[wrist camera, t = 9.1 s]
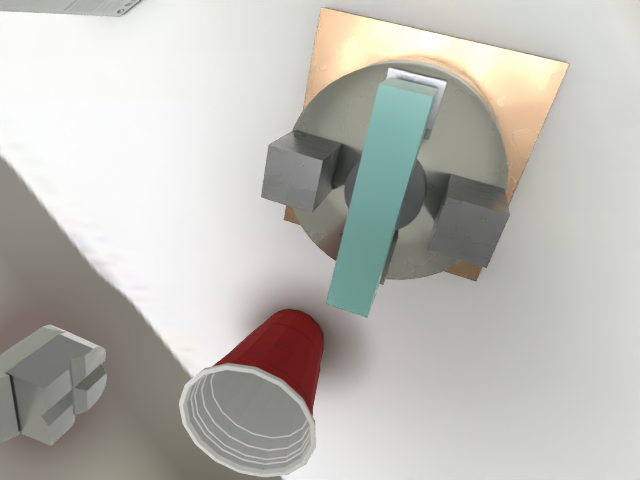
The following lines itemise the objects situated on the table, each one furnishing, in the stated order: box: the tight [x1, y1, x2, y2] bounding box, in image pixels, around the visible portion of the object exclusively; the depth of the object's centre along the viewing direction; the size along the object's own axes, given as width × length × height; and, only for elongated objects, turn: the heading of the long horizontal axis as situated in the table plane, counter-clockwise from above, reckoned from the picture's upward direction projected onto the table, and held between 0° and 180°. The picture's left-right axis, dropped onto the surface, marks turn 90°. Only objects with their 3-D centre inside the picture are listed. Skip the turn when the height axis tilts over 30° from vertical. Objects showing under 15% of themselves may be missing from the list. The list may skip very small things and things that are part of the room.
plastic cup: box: [179, 309, 323, 477], centre depth 39 cm, size 11×11×12 cm
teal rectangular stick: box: [326, 77, 438, 317], centre depth 25 cm, size 4×12×5 cm, turn 169°
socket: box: [261, 7, 569, 285], centre depth 28 cm, size 16×16×12 cm
